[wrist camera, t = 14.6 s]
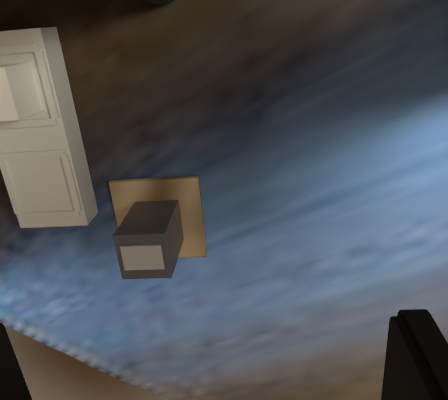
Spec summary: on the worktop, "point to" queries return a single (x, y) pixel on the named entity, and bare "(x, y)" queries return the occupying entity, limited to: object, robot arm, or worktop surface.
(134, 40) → the worktop surface
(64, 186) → the power strip
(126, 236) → the block
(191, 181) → the coaster
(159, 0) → the coffee jar
